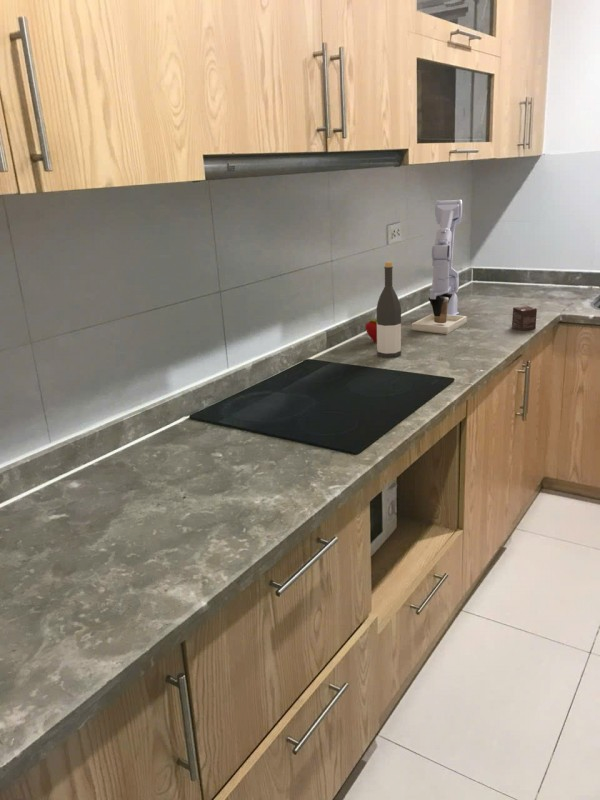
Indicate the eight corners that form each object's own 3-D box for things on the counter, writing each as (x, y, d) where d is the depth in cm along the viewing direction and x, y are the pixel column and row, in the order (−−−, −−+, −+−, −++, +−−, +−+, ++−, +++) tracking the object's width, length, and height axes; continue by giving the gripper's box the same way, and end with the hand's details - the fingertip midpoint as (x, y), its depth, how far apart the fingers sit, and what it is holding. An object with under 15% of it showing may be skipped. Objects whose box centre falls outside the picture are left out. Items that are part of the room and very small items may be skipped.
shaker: (439, 319, 243) (442, 295, 239) (449, 322, 239) (451, 298, 236) (431, 321, 240) (433, 297, 237) (440, 324, 237) (442, 300, 233)
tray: (432, 319, 251) (432, 313, 250) (466, 322, 244) (467, 316, 243) (411, 330, 238) (411, 323, 237) (447, 334, 230) (447, 327, 229)
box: (525, 325, 236) (527, 305, 234) (536, 328, 231) (537, 308, 228) (511, 327, 234) (512, 307, 232) (521, 330, 229) (522, 310, 226)
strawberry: (371, 339, 229) (370, 311, 226) (389, 341, 225) (389, 313, 221) (362, 343, 225) (361, 315, 222) (380, 345, 221) (380, 317, 217)
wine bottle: (372, 353, 213) (370, 261, 202) (393, 349, 215) (393, 259, 205) (383, 359, 206) (383, 265, 195) (405, 355, 208) (406, 262, 198)
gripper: (438, 274, 242) (438, 309, 247) (422, 280, 231) (421, 317, 236) (456, 275, 238) (455, 311, 243) (440, 282, 227) (439, 319, 232)
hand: (440, 314), depth 239 cm, fingers closed on shaker, 4 cm apart
